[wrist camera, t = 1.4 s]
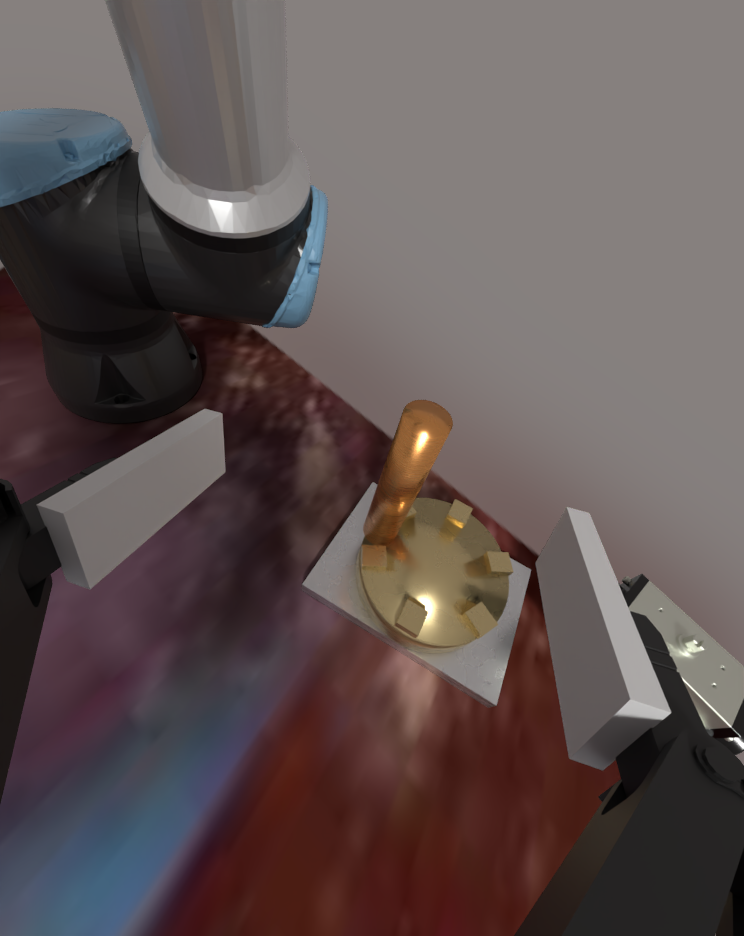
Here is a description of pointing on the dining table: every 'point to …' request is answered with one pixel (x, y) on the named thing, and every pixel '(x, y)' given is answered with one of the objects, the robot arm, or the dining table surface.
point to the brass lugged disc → (427, 549)
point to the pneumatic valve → (695, 662)
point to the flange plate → (463, 668)
